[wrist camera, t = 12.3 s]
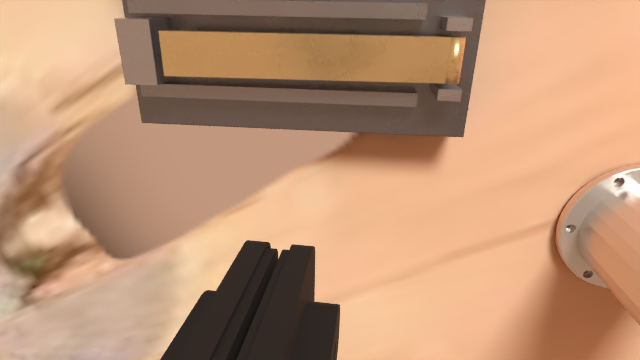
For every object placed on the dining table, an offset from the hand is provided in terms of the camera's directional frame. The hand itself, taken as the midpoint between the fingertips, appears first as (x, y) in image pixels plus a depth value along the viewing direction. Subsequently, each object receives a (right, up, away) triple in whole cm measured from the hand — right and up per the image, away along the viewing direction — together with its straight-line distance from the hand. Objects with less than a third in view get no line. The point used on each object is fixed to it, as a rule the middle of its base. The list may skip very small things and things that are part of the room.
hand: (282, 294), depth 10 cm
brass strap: (0, +12, +19) cm, 22 cm away
